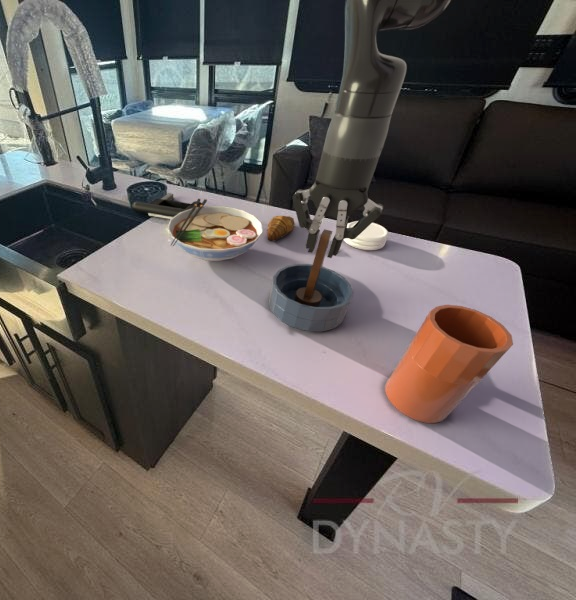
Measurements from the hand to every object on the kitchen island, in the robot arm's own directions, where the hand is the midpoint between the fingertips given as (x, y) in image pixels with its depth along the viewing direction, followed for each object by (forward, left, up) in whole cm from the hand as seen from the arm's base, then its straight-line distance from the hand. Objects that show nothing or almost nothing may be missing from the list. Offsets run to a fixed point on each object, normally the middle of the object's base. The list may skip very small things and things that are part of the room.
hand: (321, 252), depth 58 cm
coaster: (-5, -34, -13) cm, 37 cm away
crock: (-20, +12, -13) cm, 27 cm away
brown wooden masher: (0, -1, -12) cm, 12 cm away
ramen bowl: (+26, -10, -13) cm, 31 cm away
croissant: (+15, -28, -13) cm, 34 cm away
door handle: (+50, -26, -13) cm, 58 cm away
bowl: (0, 0, -13) cm, 13 cm away
